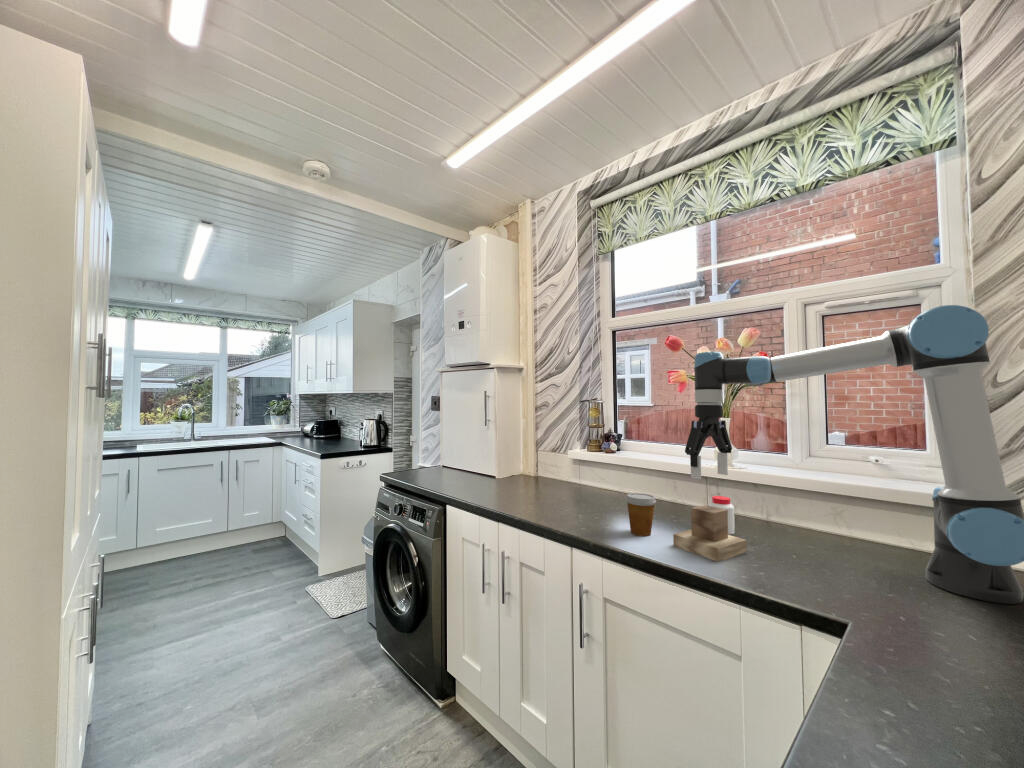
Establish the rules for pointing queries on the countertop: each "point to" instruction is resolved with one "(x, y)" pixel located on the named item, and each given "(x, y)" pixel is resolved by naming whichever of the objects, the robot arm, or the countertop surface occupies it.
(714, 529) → the walnut block
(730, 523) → the pill bottle
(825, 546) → the countertop surface
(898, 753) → the countertop surface
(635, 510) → the disposable coffee cup
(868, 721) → the countertop surface
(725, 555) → the oak block
